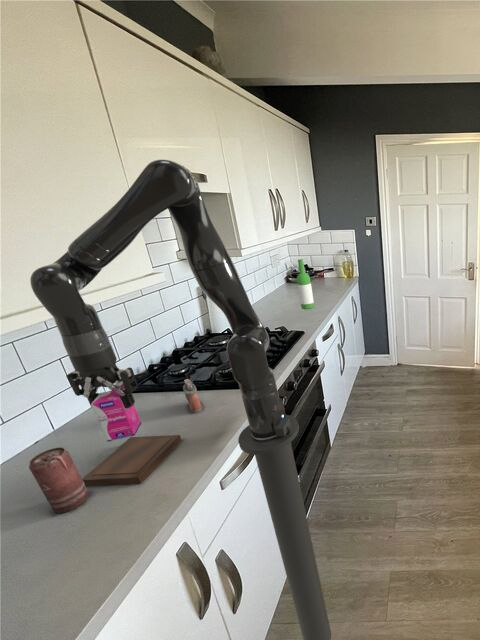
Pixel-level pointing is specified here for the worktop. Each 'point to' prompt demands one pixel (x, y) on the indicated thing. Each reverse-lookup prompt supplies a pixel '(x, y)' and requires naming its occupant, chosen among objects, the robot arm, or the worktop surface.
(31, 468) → the can
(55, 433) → the worktop surface
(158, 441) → the board
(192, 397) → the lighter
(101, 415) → the supplement box
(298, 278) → the wine bottle
